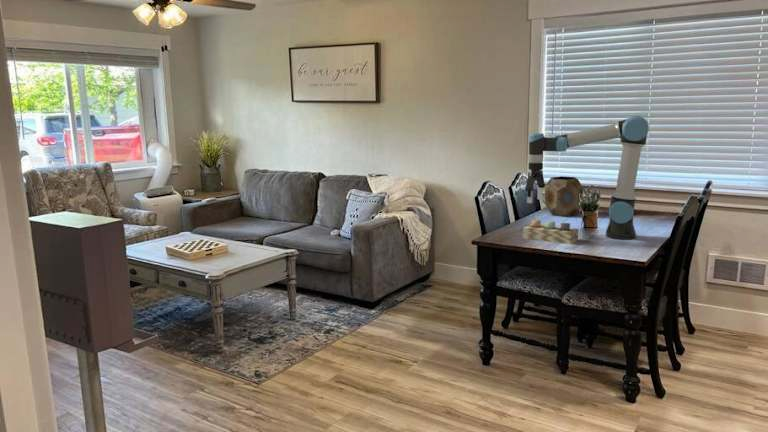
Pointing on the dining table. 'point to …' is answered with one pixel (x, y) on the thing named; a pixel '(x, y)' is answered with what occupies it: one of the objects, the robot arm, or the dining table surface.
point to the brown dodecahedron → (563, 196)
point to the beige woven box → (550, 234)
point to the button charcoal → (565, 226)
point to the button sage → (550, 225)
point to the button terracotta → (536, 223)
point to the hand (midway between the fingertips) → (534, 201)
